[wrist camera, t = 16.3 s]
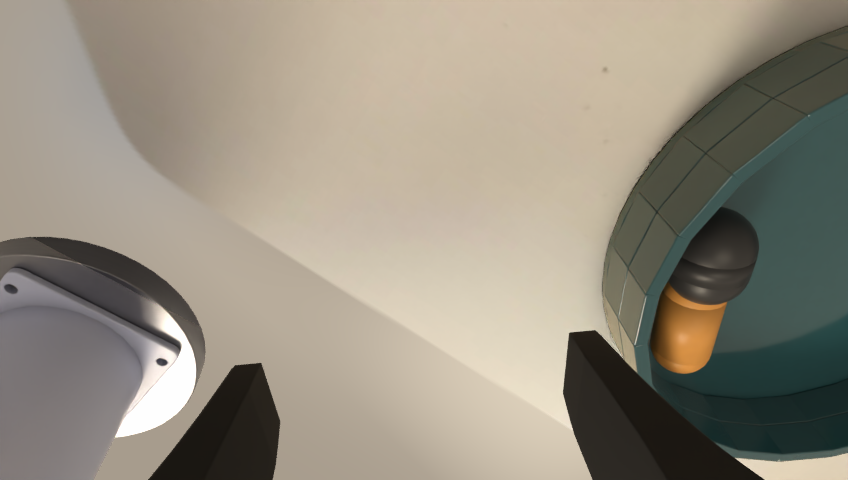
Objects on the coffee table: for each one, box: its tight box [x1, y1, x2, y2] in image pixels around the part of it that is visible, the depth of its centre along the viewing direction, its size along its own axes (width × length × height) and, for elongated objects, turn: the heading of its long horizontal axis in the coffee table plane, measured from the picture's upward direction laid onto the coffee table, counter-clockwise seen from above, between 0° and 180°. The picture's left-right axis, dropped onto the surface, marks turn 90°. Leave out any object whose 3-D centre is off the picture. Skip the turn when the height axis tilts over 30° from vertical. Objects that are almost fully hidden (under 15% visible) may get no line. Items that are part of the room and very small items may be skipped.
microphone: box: [650, 207, 759, 374], centre depth 23 cm, size 9×3×3 cm, turn 4°
